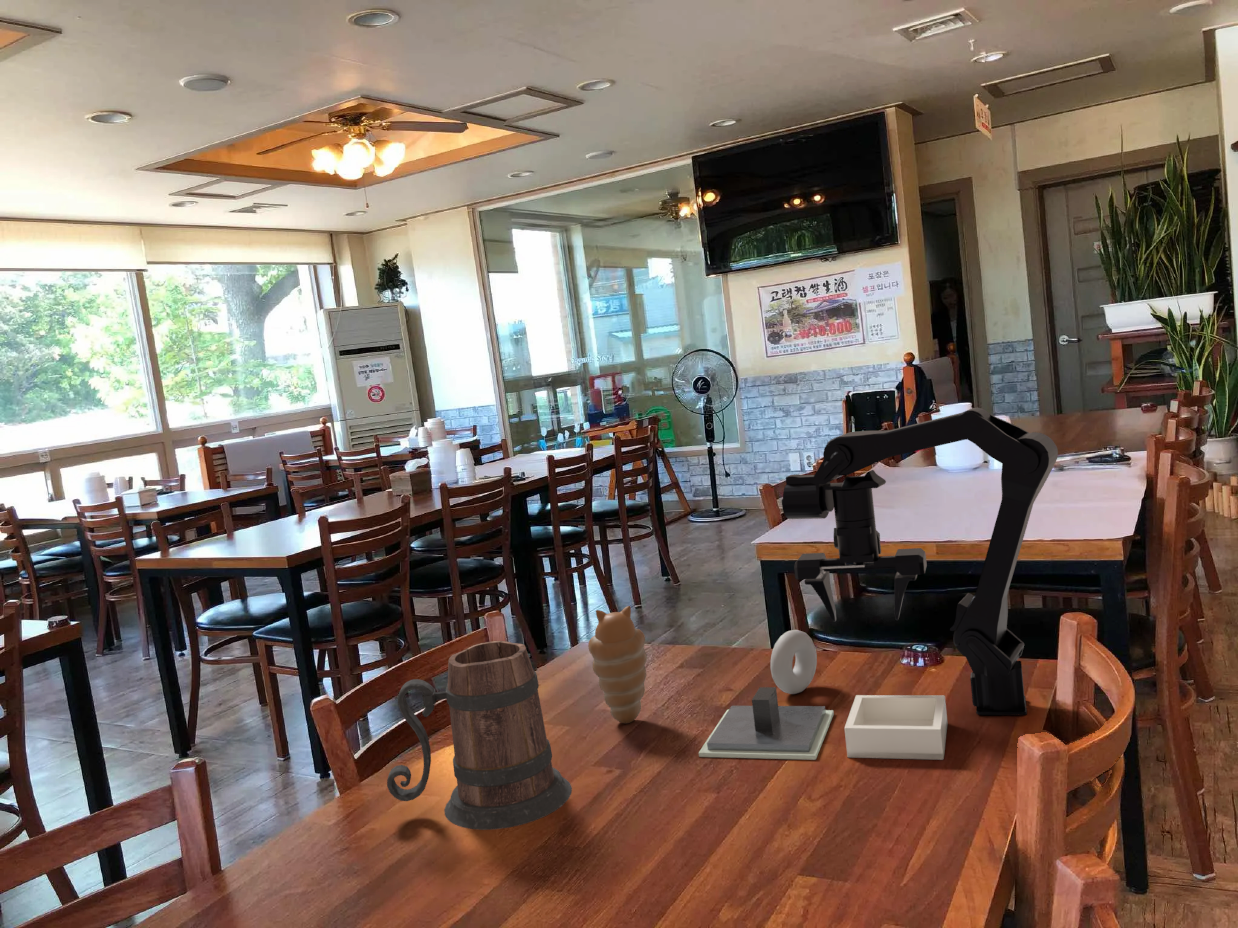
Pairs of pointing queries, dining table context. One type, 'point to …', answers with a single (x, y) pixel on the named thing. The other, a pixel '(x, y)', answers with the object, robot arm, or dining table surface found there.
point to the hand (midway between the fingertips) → (865, 619)
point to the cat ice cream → (619, 663)
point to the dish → (897, 727)
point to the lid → (768, 726)
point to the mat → (771, 754)
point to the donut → (783, 659)
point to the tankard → (489, 740)
